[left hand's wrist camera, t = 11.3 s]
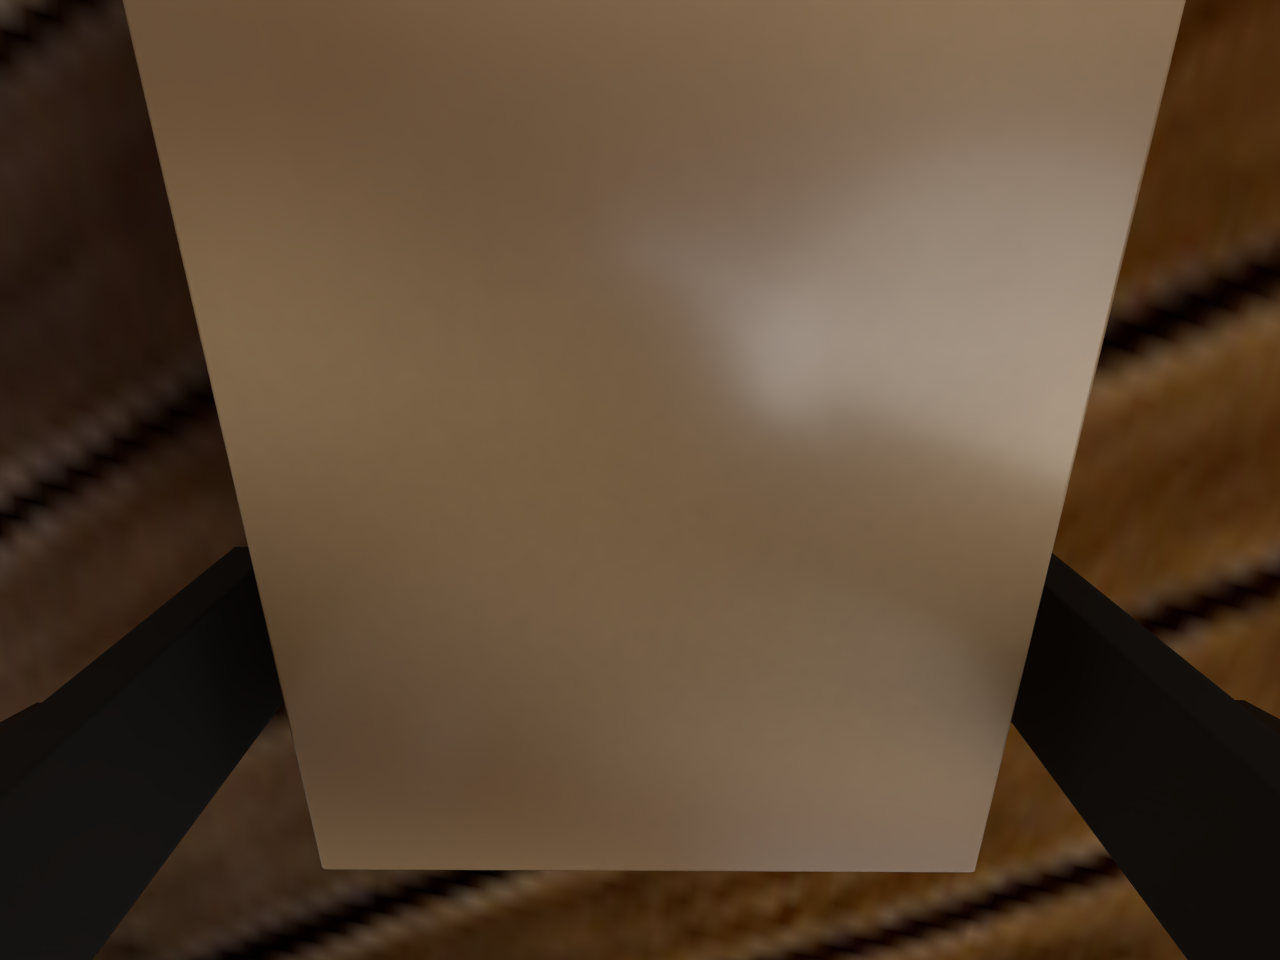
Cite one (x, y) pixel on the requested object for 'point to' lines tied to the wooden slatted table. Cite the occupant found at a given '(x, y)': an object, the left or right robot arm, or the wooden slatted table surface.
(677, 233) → the cabinet
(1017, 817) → the wooden slatted table surface
